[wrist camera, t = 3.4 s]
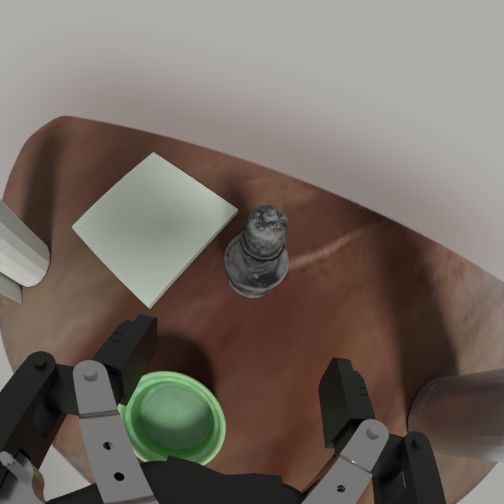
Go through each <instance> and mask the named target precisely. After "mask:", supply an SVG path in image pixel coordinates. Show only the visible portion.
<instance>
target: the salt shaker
mask: <svg viewBox="0 0 504 504" xmlns="http://www.w3.org/2000/svg"><path fill="white" fill-rule="evenodd" d="M287 230H288V220H287V217H286V215H285V214H284V213H283V212H282V211H281V210H280V209H279V208H277V207H275V206H272V205H261V206H258V207H256V208H254V209H253V210H252V211H251V212H250V214H249V216H248V220H247V225H246V226H245V227H244V228H243V229H242V231H241V233H240V234H239V235H238V236H236V237H235V238H234V239H233V240H232V241H231V242H230V243H229V245H228V246H227V248H226V251H225V255H224V265H225V268H226V271H227V278H228V281H229V284H230V285H231V287H232V288H233V289H234V290H235V291H236V292H237V293H238V294H240V295H243V296H245V297H249V298H259V297H262V296H265V295H267V294H268V293H269V292H271V291H272V290H273V288H274V287H275V286H276V285H278V284H279V283H280V282H281V281H282V280H283V278H284V277H285V275H286V273H287V271H288V266H289V259H288V253H287V251H286V249H285V234H286V232H287Z"/></svg>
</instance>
